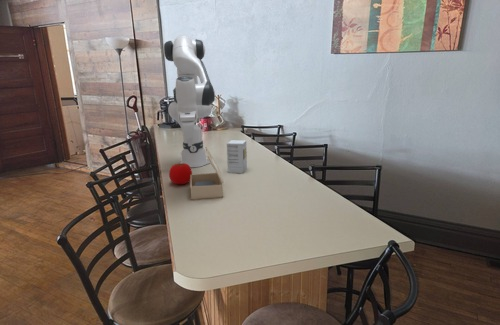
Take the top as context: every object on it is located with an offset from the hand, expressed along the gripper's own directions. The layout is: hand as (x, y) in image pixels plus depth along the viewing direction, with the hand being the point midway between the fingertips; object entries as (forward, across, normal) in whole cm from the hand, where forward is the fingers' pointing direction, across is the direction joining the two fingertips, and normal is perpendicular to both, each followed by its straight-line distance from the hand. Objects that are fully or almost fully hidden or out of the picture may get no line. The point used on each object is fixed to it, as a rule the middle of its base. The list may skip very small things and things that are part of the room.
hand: (190, 145), depth 144 cm
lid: (+10, 0, +10) cm, 14 cm away
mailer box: (+23, 0, +6) cm, 23 cm away
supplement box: (+23, -29, +25) cm, 45 cm away
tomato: (+23, -15, -6) cm, 28 cm away
